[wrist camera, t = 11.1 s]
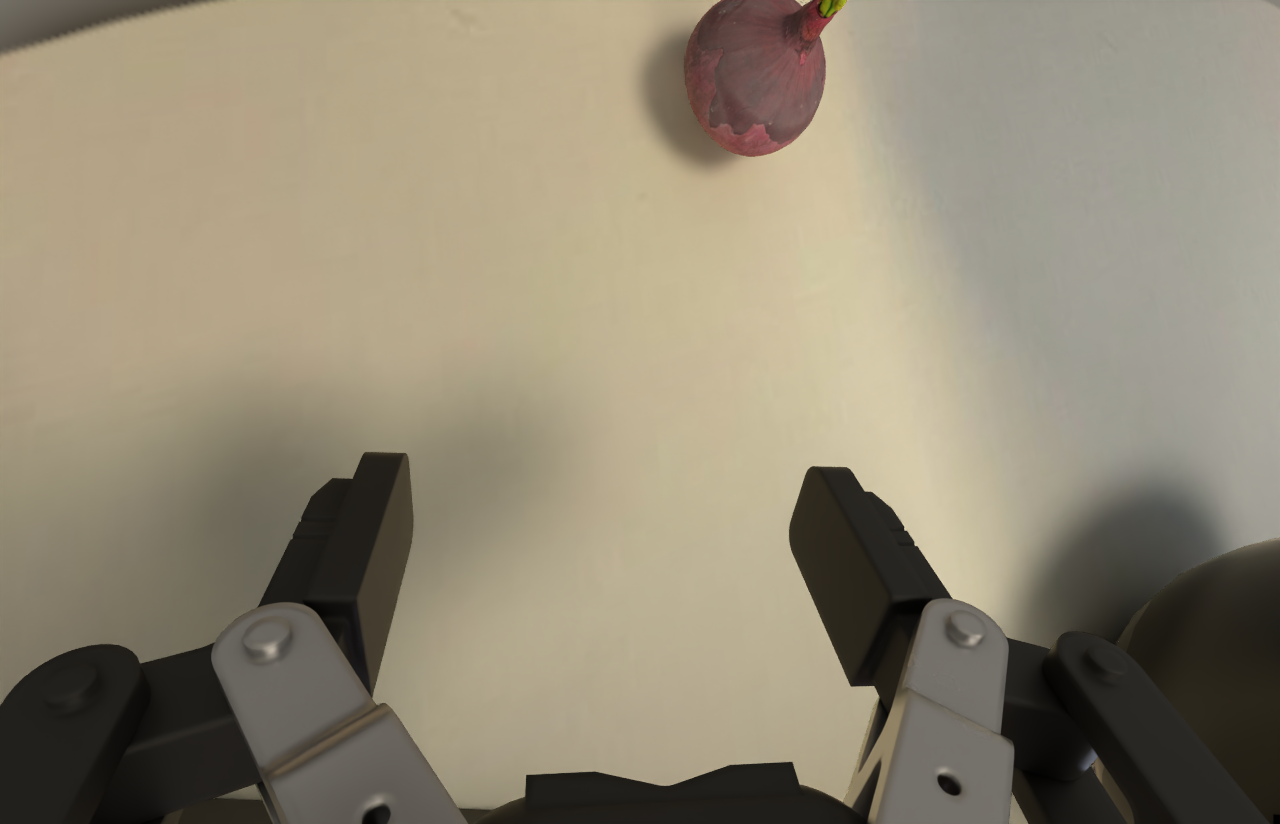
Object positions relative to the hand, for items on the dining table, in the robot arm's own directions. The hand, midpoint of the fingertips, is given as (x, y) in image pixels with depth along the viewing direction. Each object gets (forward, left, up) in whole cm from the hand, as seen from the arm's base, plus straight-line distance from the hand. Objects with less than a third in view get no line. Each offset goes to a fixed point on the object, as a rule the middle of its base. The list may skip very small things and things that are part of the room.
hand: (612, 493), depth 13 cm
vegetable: (+6, +18, -16) cm, 24 cm away
